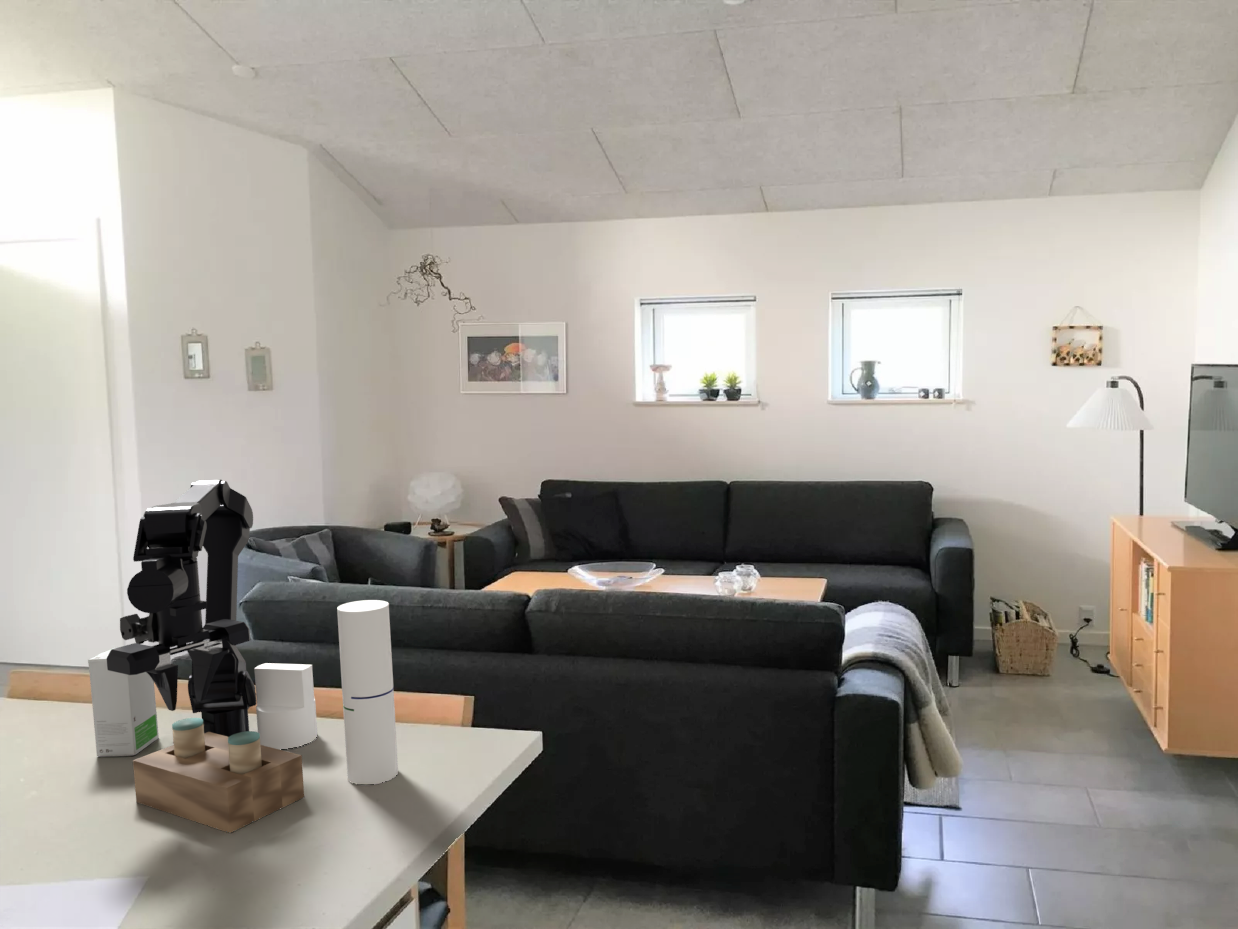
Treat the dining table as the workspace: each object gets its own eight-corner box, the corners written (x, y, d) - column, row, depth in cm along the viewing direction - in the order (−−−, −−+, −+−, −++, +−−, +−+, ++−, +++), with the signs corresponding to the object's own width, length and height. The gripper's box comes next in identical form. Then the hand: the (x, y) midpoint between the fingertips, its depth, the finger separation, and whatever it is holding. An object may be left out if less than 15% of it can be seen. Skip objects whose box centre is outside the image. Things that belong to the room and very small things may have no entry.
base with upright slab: (328, 731, 162) (323, 659, 161) (298, 751, 154) (292, 676, 153) (279, 728, 164) (274, 657, 163) (246, 748, 156) (241, 674, 155)
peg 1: (194, 754, 142) (191, 716, 142) (212, 759, 140) (209, 720, 140) (169, 764, 139) (165, 725, 138) (186, 769, 137) (183, 729, 136)
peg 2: (249, 769, 136) (246, 729, 136) (268, 775, 134) (265, 734, 133) (224, 780, 133) (221, 739, 132) (243, 786, 131) (240, 744, 130)
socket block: (211, 770, 147) (208, 731, 147) (304, 797, 137) (301, 755, 136) (136, 802, 137) (132, 760, 136) (230, 833, 127) (226, 787, 126)
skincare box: (134, 757, 154) (126, 659, 152) (92, 758, 154) (84, 660, 153) (160, 737, 162) (153, 644, 161) (120, 738, 162) (113, 645, 161)
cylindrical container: (385, 786, 139) (375, 612, 137) (338, 783, 141) (327, 611, 139) (406, 766, 146) (396, 600, 144) (361, 764, 148) (351, 599, 146)
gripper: (200, 578, 149) (207, 679, 151) (78, 605, 134) (88, 717, 135) (248, 584, 144) (256, 689, 145) (127, 613, 128) (137, 730, 129)
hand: (186, 705), depth 139 cm, fingers open, 4 cm apart
